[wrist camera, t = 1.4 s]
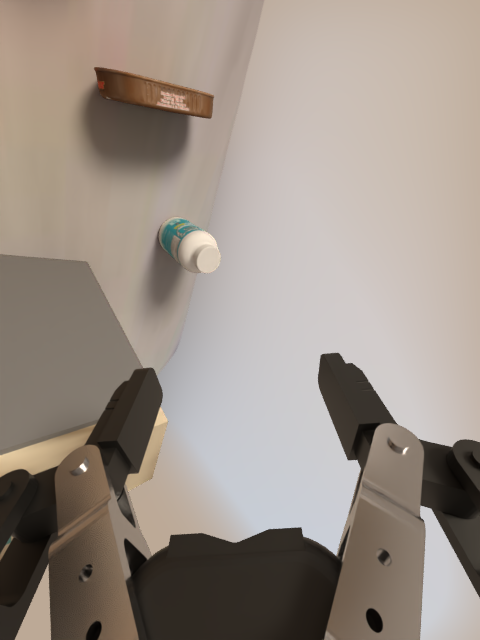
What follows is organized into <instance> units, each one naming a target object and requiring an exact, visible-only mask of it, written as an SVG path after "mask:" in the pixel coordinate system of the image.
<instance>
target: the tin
mask: <svg viewBox="0 0 480 640" xmlns="http://www.w3.org/2000/svg"><path fill="white" fill-rule="evenodd" d="M94 69H95V71H96V75H97V81H98V87H99V91H100V94H101V96H102V97H103V98H105V99H110V100H115V101H120V102H124V103H129V104H134V105H139V106H144V107H149V108H154V109H159V110H164V111H169V112H174V113H179V114H185V115H191V116H197V117H202V118H209V119H210V118H211V117H212V109H213V98H214V95H212V94H209V93H205V92H202V91H198V90H194V89H190V88H187V87H183V86H179V85H175V84H171V83H167V82H163V81H160V80H155V79H152V78H148V77H144V76H141V75H136V74H132V73H128V72H123V71H118V70H113V69H107V68H99V67H95V68H94Z"/></svg>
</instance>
